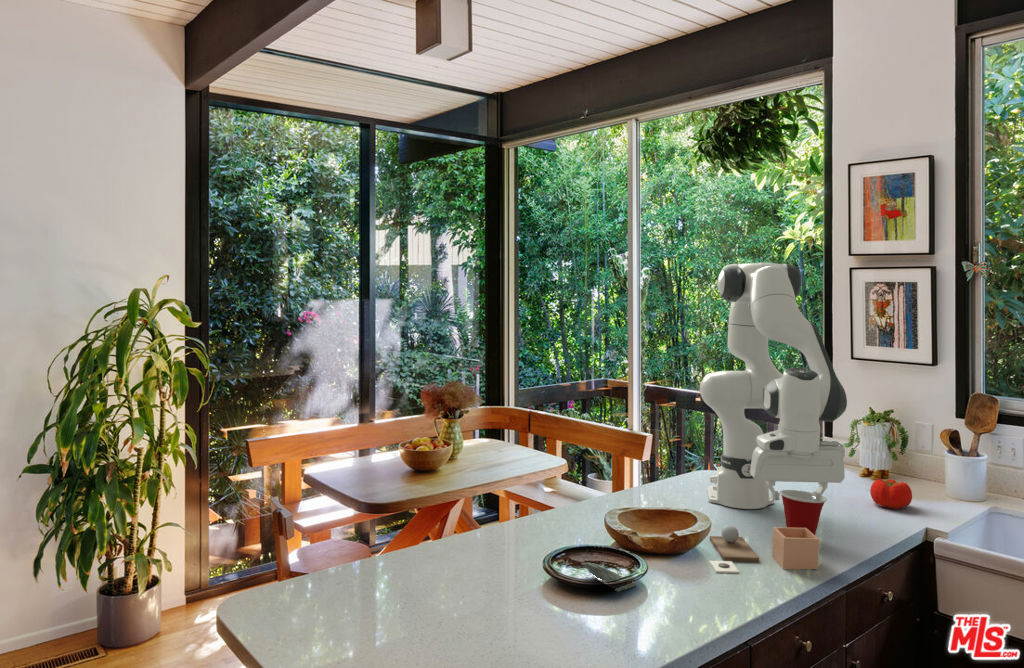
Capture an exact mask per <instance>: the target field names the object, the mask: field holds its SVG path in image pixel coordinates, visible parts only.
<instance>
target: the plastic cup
mask: <svg viewBox="0 0 1024 668" xmlns="http://www.w3.org/2000/svg"><path fill="white" fill-rule="evenodd" d="M779 493H780V497H781V501H782V505H783V512H784V513H783V514H784V518H785V526H786V527H792V528H807V529H808V530H809V531H810V532H812V533H813V534H814V535H815V536H816V532H817V530H818V525H819V522H820V517H821V513H822V510H823V507H824V504H825V503H826V502H827V498H826V497H825V496H823V495H822V501H814V500H813V499H812V496H813V495H812V493H813V492H810V491H805V490H797V489H781V491H779Z"/></svg>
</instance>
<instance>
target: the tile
mask: <svg viewBox="0 0 1024 668" xmlns="http://www.w3.org/2000/svg"><path fill="white" fill-rule="evenodd" d="M709 564H710V566H711V567H712V568H713V570H714V572H715V573H717V574H739V573H740V571H739V569H738V568H737V567H736V566H735V564H734V561H723V560H709Z"/></svg>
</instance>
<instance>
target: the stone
mask: <svg viewBox="0 0 1024 668" xmlns="http://www.w3.org/2000/svg"><path fill="white" fill-rule="evenodd" d="M580 564H581V565H582V567H585V568H586V569H587V571H588V572H589V574H590V573H592V574H593V575H595V576H596V577H597V578H600V579H602V580H606V581H610V580H618V578H621V577H623V576H622V575H620V574H618V573H617V572H614V571H612V570H610V569H608V568H607V567H604V566H603V565H602V566H601V565H600V564H597V563H594V562H593V563H592V562H581V563H580ZM637 585H638V584H637V583H636V582H634V581H632V583H630V584H627V585H625V586H621V587H619V588H616V589H615V590H614V591H615V592H621V591H624V590H627V589H631V588H633V587H636V586H637Z"/></svg>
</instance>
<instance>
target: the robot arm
mask: <svg viewBox="0 0 1024 668" xmlns="http://www.w3.org/2000/svg"><path fill="white" fill-rule="evenodd" d="M717 289H718V293H719V295H720V297H721V298H722V299H723V300H724V301H727V302H731V304H730V308H729V315H728V327H727V328H728V329H727V344H726V345H727V349H728V352H729V353H730V354H731V355H733V356H735V358H737V359H739V360H741V361H743V362H744V364H745V370H720V371H719V370H718V371H714V372H710V373H709V372H708V373H707V374H705V376H704V377H703V378H702V379H701V381H700V385H699V394H700V397H701V399H702V401H703V402H704V403H705V404H706V405H707V406H708V407H709V408H711V409H712V411H714V413H715V414H716V415H717V417H718V419H719V421H720V423H721V427H722V438H723V439H722V440H723V446H722V449H723V452H722V453H721V457H720V467H719V468H718V469H717V470H716V472H715V474H714V475H710V477H709V481H710V482H709V483H710V484H713V485H709V486H708V485H707V489H706V490H707V491H706V492H707V498H708V502H709V503H712V504H719V505H722V506H726V507H730V508H734V509H741V510H742V509H745V510H757V509H764V508H765V507H767V506H769V505H774V503H775V501H780V497H781V494H780V491H778V490H775V488H774V487H775V486H776V482H780V483H781V482H785V483H786V482H787V483H788V482H791V483H817V485H818V487H817V490H816V491H812V492H811V493H812V495H813V496H812V499H813V500H814V501H822V496H823V494H824V492H825V491H826V490H827V489H828V484H829V483H835V484H836V483H837V484H840V483H842V482H843V481H844V480H845V477H846V476H845V474H846V473H845V464H844V463H845V462H844V459H845V455H846V453H845V452H846V448H845V447H844V445H843V444H842V443H840V442H839V441H836V440H833V441H832V440H831V441H828V440H820V439H821V438H820V437H821V425H820V422H828V423H832V422H834V421H836V420H837V419H839V418H840V417H841V416H842V415H843V414H844V413H845V412H846V410H847V405H848V399H847V397H848V396H847V392H846V390H845V389H844V386H843V384H842V383H841V381H840V380H839V378H838V376H837V375H836V372H835V369H834V366H833V364H832V362H831V359H830V356H829V354H828V352H827V349H826V346H825V345H824V341H823V340H822V337H821V335H820V332H819V330H818V328H817V327H816V325H815V324H814V323H813V322H811V321H809V320H808V319H807V318H806V317H805V316H804V315H803V313H802V312H801V311H800V309H799V306H798V304H797V299H796V298H797V297H798V296H799V295H800V292H801V289H802V273H801V271H800V270H799V268H798V267H797V266H796V265H794V264H789V263H774V262H763V261H762V262H750V263H749V262H748V263H747V262H746V263H740V264H738V263H732V264H731V263H730V264H726V265H724V266H723V267H722V269H721V270H720V272H719V275H718V278H717ZM769 340H771V341H775V342H778V343H782V344H785V345H787V346H790V347H792V348H794V349H796V350H798V351H800V353H801V354H803V356H804V358H805V359H806V362H807V365H808V367H809V369H807V368H803V367H791V368H787V369H785V370H784V371H783V373H782V372H780V371H779V370H778V369H777V368H776V366H775V365H774V363H773V361H772V359H771V355H770V352H769V351H770V350H769ZM746 409H763V410H764V411H765V412H766V413H767V414H768V415H769V416H770V417H772V418H777V419H779V421H778V426H777V429H776V430H772V431H768V432H766V433H764V432H763V430H762V428H761V426H760V425H758V424H757V423H755V422H754V421H753V420H750V419H749V418H746V415H745V410H746Z"/></svg>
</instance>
